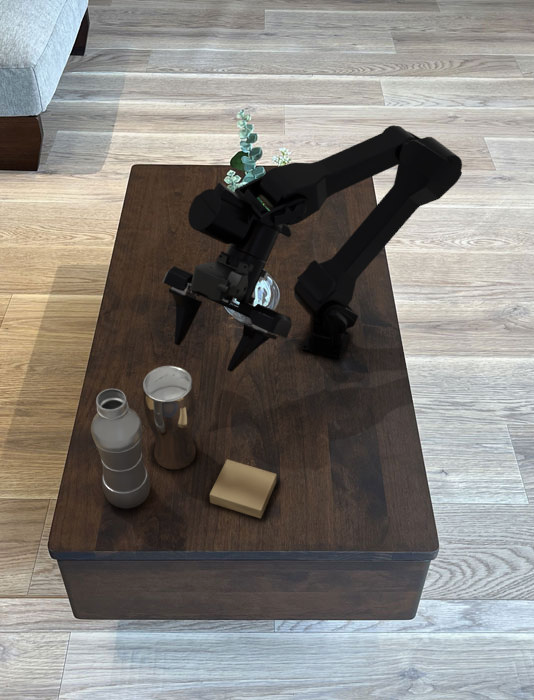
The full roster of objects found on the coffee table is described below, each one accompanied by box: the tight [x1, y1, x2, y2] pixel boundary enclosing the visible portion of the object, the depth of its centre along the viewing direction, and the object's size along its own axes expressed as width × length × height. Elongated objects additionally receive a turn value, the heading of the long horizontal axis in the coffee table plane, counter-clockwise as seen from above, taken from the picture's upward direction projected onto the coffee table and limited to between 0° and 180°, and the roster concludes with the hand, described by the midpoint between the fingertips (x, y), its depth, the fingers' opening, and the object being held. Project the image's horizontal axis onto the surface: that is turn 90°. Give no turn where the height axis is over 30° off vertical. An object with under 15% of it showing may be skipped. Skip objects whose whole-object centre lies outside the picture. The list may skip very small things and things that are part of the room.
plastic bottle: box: [90, 388, 152, 510], centre depth 104 cm, size 6×7×20 cm
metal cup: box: [142, 365, 197, 470], centre depth 111 cm, size 7×7×15 cm
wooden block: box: [209, 459, 278, 519], centre depth 111 cm, size 6×8×2 cm
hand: (202, 357), depth 111 cm, fingers open, 9 cm apart
